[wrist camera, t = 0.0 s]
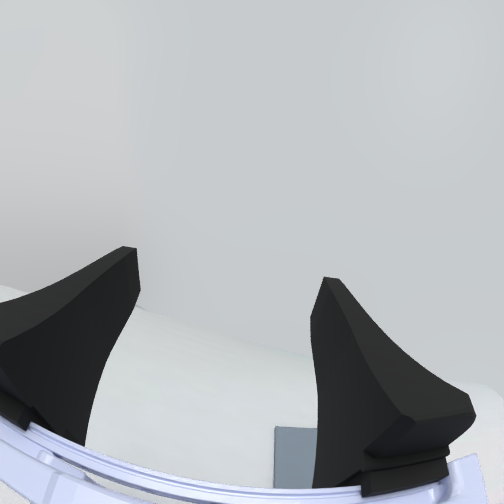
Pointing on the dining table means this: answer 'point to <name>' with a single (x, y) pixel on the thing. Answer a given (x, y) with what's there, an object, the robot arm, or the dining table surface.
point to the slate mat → (294, 457)
